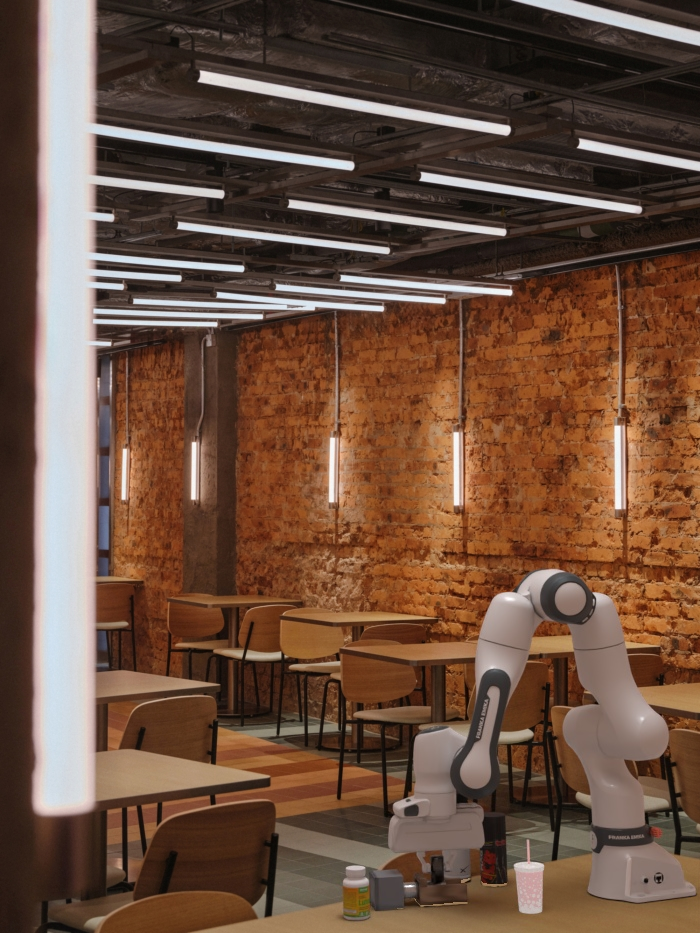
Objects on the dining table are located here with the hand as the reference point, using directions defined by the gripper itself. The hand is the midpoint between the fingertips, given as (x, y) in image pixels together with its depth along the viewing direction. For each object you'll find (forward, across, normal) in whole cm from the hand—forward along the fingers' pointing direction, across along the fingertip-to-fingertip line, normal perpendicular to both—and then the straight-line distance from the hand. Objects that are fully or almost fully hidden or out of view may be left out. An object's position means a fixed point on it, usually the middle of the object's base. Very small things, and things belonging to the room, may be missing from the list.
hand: (437, 872), depth 253 cm
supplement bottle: (+6, +18, +7) cm, 21 cm away
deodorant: (+6, -16, -12) cm, 21 cm away
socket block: (+6, +11, 0) cm, 13 cm away
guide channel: (+6, -1, 0) cm, 6 cm away
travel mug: (+6, -9, -17) cm, 20 cm away
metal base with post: (+5, +5, 0) cm, 7 cm away
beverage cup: (+6, -17, +11) cm, 21 cm away
